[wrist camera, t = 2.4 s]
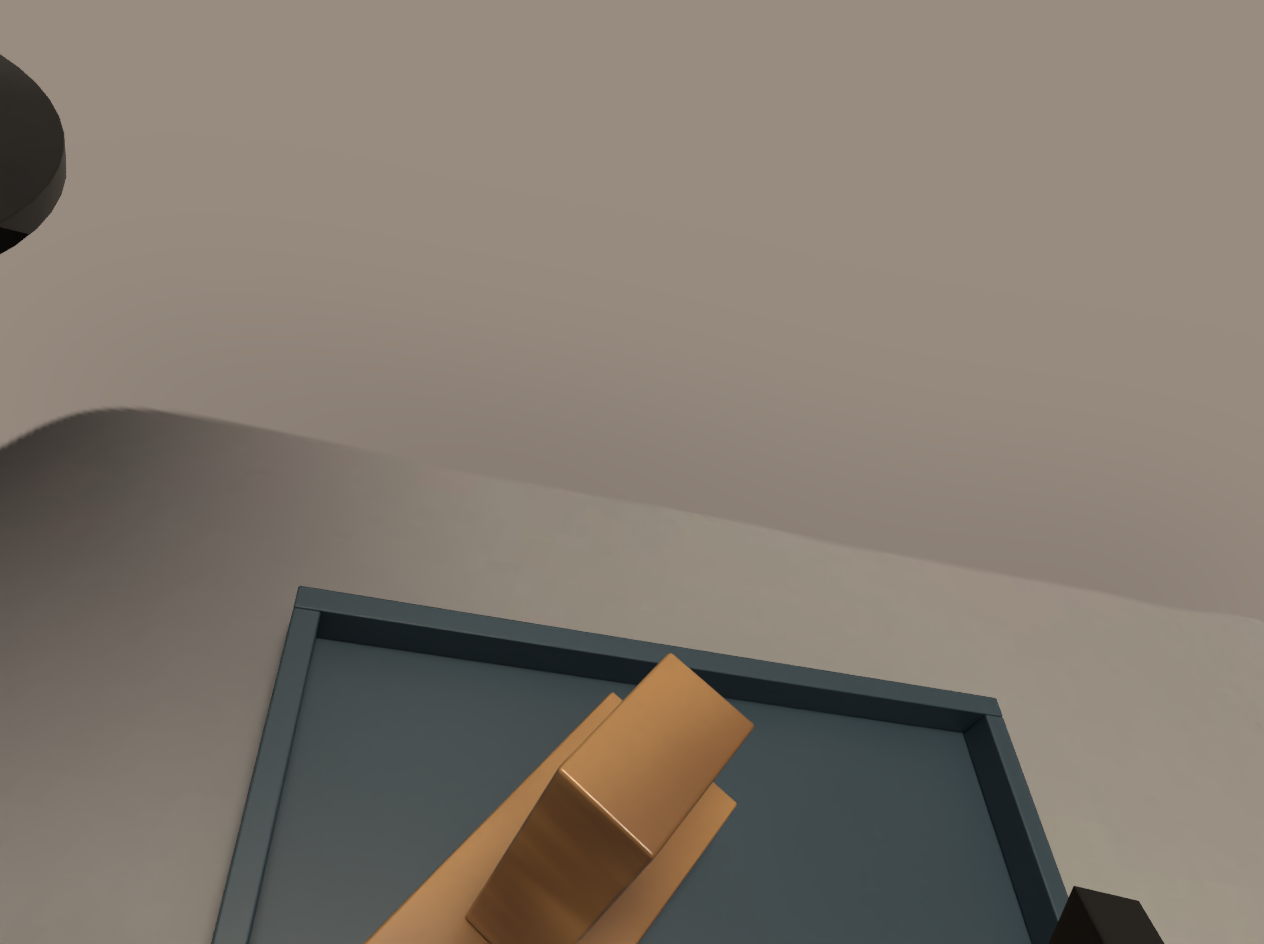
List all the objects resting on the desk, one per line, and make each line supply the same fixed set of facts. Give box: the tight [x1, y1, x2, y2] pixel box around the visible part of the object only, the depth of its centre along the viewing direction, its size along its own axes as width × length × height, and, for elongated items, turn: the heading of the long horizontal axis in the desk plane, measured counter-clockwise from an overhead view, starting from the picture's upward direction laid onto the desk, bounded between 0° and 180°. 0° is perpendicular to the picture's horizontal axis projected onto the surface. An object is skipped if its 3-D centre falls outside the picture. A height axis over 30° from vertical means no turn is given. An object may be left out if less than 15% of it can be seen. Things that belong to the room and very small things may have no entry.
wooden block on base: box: [363, 653, 754, 944], centre depth 22 cm, size 5×12×10 cm, turn 144°
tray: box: [211, 586, 1068, 944], centre depth 27 cm, size 18×26×2 cm
